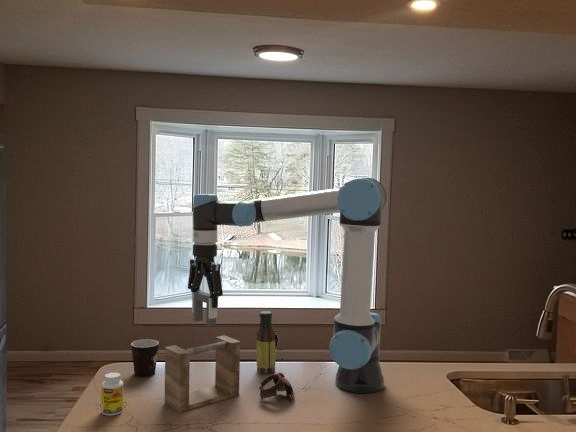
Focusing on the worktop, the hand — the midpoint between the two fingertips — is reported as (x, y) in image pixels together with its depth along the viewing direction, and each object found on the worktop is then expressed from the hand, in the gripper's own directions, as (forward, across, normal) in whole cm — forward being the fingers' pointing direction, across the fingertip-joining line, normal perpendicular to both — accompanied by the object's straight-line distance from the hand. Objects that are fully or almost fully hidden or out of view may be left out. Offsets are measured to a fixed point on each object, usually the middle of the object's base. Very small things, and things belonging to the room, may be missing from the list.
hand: (204, 315), depth 177 cm
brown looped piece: (+21, +26, +8) cm, 35 cm away
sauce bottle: (+21, +6, +20) cm, 29 cm away
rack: (+20, +14, -9) cm, 27 cm away
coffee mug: (+20, -14, -14) cm, 29 cm away
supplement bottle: (+20, +6, -33) cm, 40 cm away
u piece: (+2, 0, 0) cm, 2 cm away
